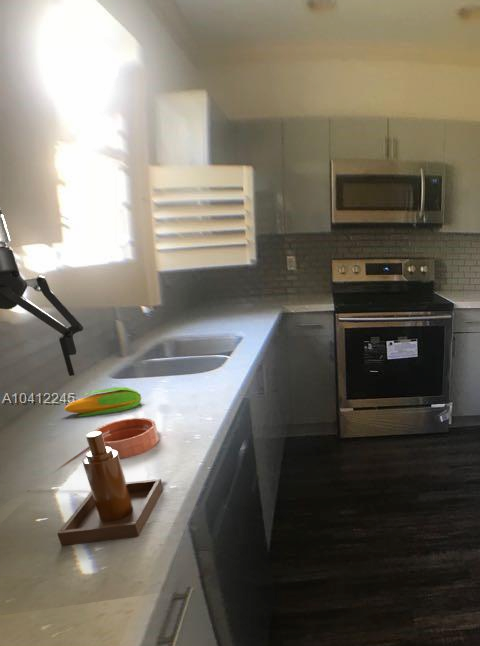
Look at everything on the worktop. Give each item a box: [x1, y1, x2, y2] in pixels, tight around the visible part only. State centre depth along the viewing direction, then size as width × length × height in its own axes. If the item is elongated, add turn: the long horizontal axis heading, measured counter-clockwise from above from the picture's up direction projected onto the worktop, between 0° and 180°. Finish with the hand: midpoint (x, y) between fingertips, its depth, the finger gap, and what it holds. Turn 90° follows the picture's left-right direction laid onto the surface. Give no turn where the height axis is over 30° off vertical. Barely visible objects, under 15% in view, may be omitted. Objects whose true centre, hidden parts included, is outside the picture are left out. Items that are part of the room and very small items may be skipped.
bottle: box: [81, 431, 133, 521], centre depth 84 cm, size 6×6×16 cm
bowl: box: [92, 417, 160, 460], centre depth 113 cm, size 14×14×5 cm
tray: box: [56, 478, 164, 547], centre depth 87 cm, size 16×13×3 cm
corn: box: [64, 386, 142, 418], centre depth 135 cm, size 7×8×20 cm
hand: (22, 382), depth 75 cm, fingers open, 13 cm apart
